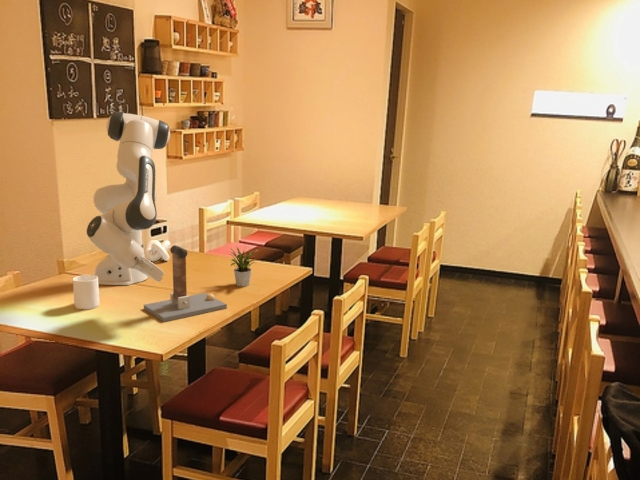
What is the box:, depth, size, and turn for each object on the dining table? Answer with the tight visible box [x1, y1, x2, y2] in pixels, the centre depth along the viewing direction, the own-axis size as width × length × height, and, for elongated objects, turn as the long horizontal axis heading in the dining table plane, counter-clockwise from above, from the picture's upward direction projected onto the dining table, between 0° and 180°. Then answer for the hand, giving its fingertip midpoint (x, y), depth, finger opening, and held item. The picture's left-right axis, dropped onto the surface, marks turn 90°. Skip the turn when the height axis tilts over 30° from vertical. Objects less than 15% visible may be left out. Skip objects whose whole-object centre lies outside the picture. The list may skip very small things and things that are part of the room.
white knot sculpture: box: [144, 239, 171, 263], centre depth 274 cm, size 11×12×9 cm
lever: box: [169, 244, 188, 302], centre depth 207 cm, size 3×6×19 cm, turn 39°
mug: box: [72, 274, 100, 311], centre depth 212 cm, size 12×8×10 cm
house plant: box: [225, 245, 258, 287], centre depth 239 cm, size 14×14×16 cm
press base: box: [143, 292, 228, 323], centre depth 211 cm, size 24×16×6 cm, turn 129°
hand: (159, 279), depth 202 cm, fingers closed
